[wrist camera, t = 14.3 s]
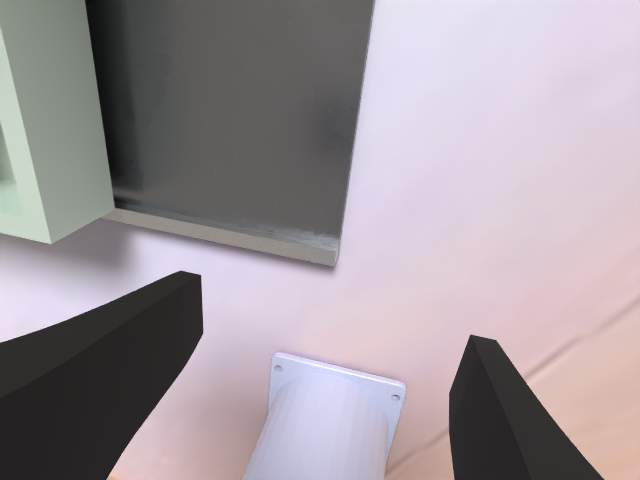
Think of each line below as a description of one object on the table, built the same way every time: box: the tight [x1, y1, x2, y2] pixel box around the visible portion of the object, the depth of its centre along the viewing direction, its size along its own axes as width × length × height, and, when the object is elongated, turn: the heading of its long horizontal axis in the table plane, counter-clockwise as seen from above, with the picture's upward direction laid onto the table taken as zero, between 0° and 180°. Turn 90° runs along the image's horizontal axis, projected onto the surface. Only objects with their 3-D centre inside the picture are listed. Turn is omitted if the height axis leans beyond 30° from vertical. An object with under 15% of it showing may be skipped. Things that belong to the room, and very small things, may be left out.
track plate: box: [85, 0, 375, 266], centre depth 18 cm, size 16×28×1 cm, turn 83°
